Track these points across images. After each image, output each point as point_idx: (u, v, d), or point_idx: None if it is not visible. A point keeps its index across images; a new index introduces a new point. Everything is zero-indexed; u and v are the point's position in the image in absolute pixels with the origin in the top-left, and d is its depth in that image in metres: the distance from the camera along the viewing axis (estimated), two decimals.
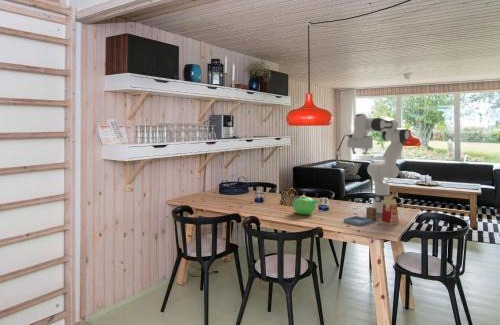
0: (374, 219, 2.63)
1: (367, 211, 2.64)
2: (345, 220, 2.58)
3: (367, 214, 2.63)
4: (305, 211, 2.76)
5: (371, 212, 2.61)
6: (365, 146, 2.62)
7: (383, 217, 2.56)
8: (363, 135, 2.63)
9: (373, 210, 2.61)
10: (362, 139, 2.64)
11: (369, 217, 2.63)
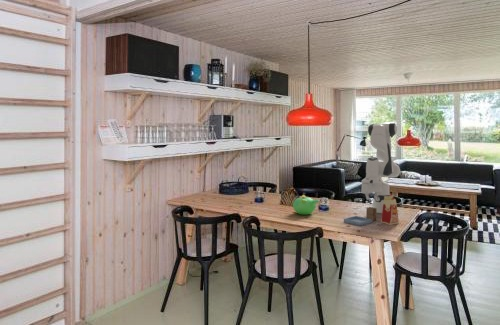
0: (374, 219, 2.63)
1: (367, 211, 2.64)
2: (345, 220, 2.58)
3: (367, 214, 2.63)
4: (305, 211, 2.76)
5: (371, 212, 2.61)
6: (379, 190, 2.64)
7: (383, 217, 2.56)
8: None
9: (373, 210, 2.61)
10: (377, 183, 2.63)
11: (369, 217, 2.63)
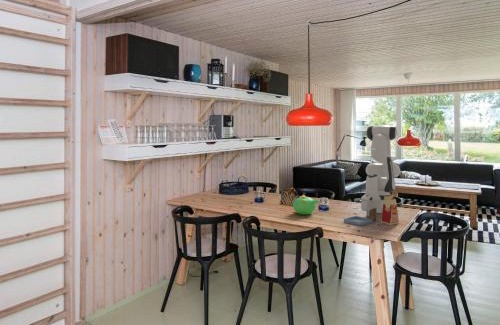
0: (374, 219, 2.63)
1: None
2: (345, 220, 2.58)
3: None
4: (305, 211, 2.76)
5: (371, 212, 2.61)
6: (378, 206, 2.66)
7: (383, 217, 2.56)
8: None
9: (373, 210, 2.61)
10: (376, 200, 2.64)
11: (369, 217, 2.63)
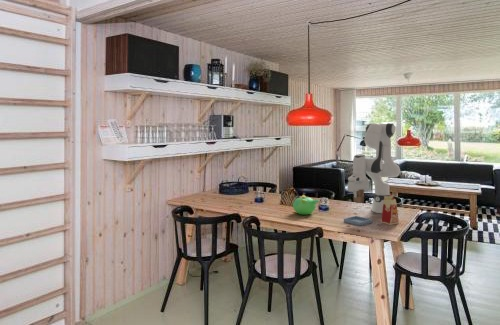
0: (361, 200, 2.55)
1: None
2: (345, 220, 2.58)
3: None
4: (305, 211, 2.76)
5: (358, 193, 2.53)
6: (366, 187, 2.58)
7: (383, 217, 2.56)
8: None
9: (360, 191, 2.53)
10: (364, 181, 2.56)
11: (356, 198, 2.55)
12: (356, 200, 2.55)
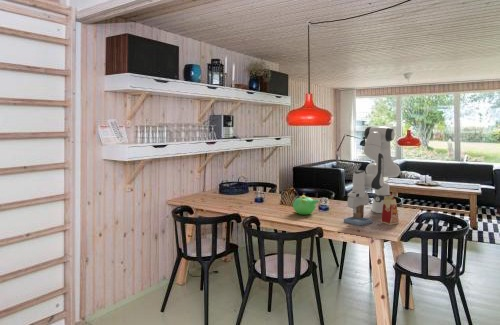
0: (361, 216, 2.56)
1: None
2: (345, 220, 2.58)
3: None
4: (305, 211, 2.76)
5: (358, 209, 2.54)
6: (365, 203, 2.59)
7: (383, 217, 2.56)
8: None
9: (360, 207, 2.54)
10: (363, 196, 2.57)
11: (356, 214, 2.56)
12: (356, 216, 2.56)
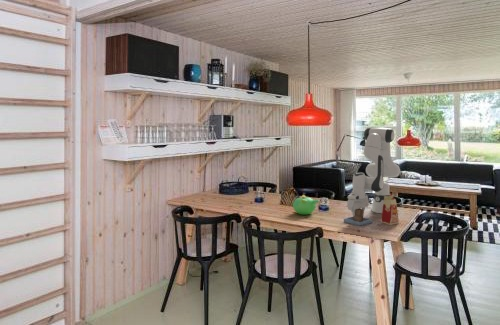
0: (361, 220, 2.56)
1: None
2: (345, 220, 2.58)
3: None
4: (305, 211, 2.76)
5: (358, 213, 2.55)
6: (365, 205, 2.59)
7: (383, 217, 2.56)
8: None
9: (360, 211, 2.55)
10: (363, 199, 2.57)
11: (356, 218, 2.56)
12: (356, 220, 2.57)
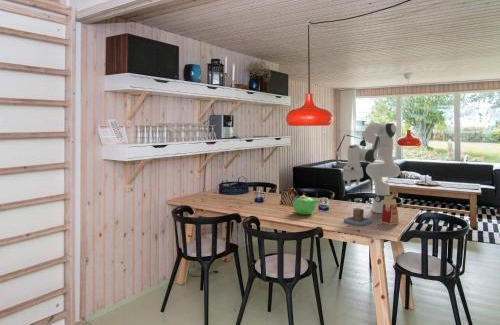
0: (361, 220, 2.56)
1: (354, 212, 2.57)
2: (345, 220, 2.58)
3: (354, 215, 2.57)
4: (305, 211, 2.76)
5: (358, 213, 2.55)
6: (360, 176, 2.69)
7: (383, 217, 2.56)
8: None
9: (360, 211, 2.55)
10: (358, 170, 2.67)
11: (356, 218, 2.56)
12: (356, 220, 2.57)
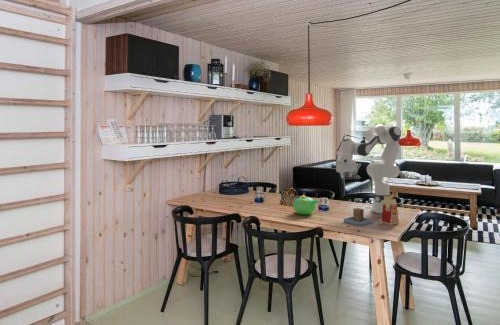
0: (361, 220, 2.56)
1: (354, 212, 2.57)
2: (345, 220, 2.58)
3: (354, 215, 2.57)
4: (305, 211, 2.76)
5: (358, 213, 2.55)
6: (353, 169, 2.82)
7: (383, 217, 2.56)
8: None
9: (360, 211, 2.55)
10: (351, 163, 2.80)
11: (356, 218, 2.56)
12: (356, 220, 2.57)
